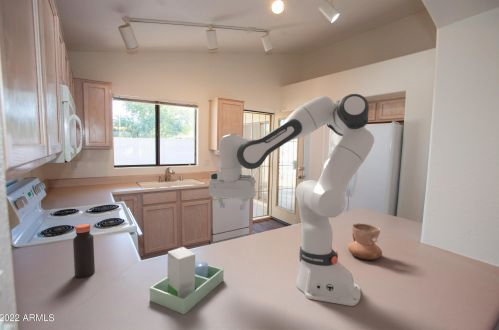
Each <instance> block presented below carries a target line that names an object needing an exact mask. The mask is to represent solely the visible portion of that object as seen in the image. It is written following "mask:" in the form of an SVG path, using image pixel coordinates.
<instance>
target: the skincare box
mask: <svg viewBox="0 0 499 330" xmlns="http://www.w3.org/2000/svg"><path fill="white" fill-rule="evenodd" d="M195 261H196V254H195V253H194V252H192V251H191V250H190V249H187V247H184V246H181V247H178V248H175V249H172V250H169V251H167V277H168V281H167V291H166V292H167V293H169V294H172V295H175V296H177V297H180V298H183V299H184V298H186V297H187V296H188V295H189V294H191V293H192V292H193V291H194V290H196V289H195Z"/></svg>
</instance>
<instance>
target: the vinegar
mask: <svg viewBox="0 0 499 330" xmlns="http://www.w3.org/2000/svg"><path fill="white" fill-rule="evenodd" d="M90 232H91V224H90V223H82V224H81V223H80V224H77V225H75V234H76V236H75V237H74V238H73V239H72V243H73V262H74V263H73V265H74V267H73V268H74V277H75V278H77V279H79V278H80V279H82V278H87V277H89V276H92V275H93V274H94V273H95V271H96V270H95V266H96V265H95V245H94V244H95V243H94V235H93V234H91V233H90Z"/></svg>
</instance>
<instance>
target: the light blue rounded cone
mask: <svg viewBox="0 0 499 330" xmlns="http://www.w3.org/2000/svg"><path fill="white" fill-rule="evenodd" d="M196 262H197V263H195V275H199V276H202V277H205V278H208V265H209V263H208V262H206V261H196Z"/></svg>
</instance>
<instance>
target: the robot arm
mask: <svg viewBox="0 0 499 330" xmlns="http://www.w3.org/2000/svg"><path fill="white" fill-rule="evenodd" d="M369 107H370V106H369V102H368V100H367V98H366V97H365V96H363V95H361V94H358V93H351V94H347V95H345V96H344V97H343V98H342V99H340V101H339V102H338V103H335V102H334V100H333V99H332V98H330V97H329V96H327V95H321V96H318V97H315V98H314V99H311V100H309V101H307V102H305V103H303V104H302V105H300V106H299V107H298V108H296V109H295V110H293V111H292V112H291V113H289V115H288V116H287V117H286V118H285V120H284V121H283V122H282V124H280V125H279V126H278V127H276V129H274V130H272V131H270V132H269V133H268V134H266V135H264V136H262V137H261V138H258V139H254V140H250V139H247V138H245V137H243V136H241V135H239V134H238V133H229V134H226V135H223V136H222V137H221V138H220V139H219V143H218V158H219V161H220V164H219V171H218V170H217V171H216V172H213V173H210V174H209V177H208V178H209V183H208V195H209V196H210V197H211V198H216V200H217V202H218V204H219V208H220V209H224V208H226V203H225V202H223V198H226V199H240V200H241V202H242V204H240V205H239V210H243V211H244V210H245V209H246V204H247V203H248V200H253V199H254V198H256V195H257V192H256V185H255V184H256V182H255V181H256V179H255V178H254V176H252V175H250V174H248V175H246V174H243V170H242V169H243V168H245V169H247V170H255V169H258V168H259V167H260V166H262V165H263V163H264V162H265V161H266V158H268V156H269V155H270V154H271V153H273V152H274V151H276V150H277V149H279V148H280V147H282V146H284V145H285V144H287V143H288V142H290V141H292V140H296V139H301V138H302V137H305V136H308V135H309V134H311V133H314V132H315V131H317V130H318V129H320V128H321V127H323V126H324V125H326V126H327V127H328V128H329V129H330V130H331V131H333V132H334V133H335V134H336V135H338V136H340V137H341V139H340V140H339V142H338V143H337V145H335V147H334V149H332V151H331V153H329V155H328V157H326V159H325V161H324V162H323V165H322V167H323V168H322V172H321V174H320V177H319V178H318V180H314V179H309V180H304V181H301V182H300V183H298V184H297V186H296V188H295V197H296V199H297V205H298V206H297V207H298V211H299V219H300V228H301V233H300V234H301V236H300V237H301V241H300V242H301V245H300V247H299V262H300V263H299V270H298V275H297V278H296V281H295V285H296V287H297V288H298V289H299V290H300V291H301V292H302V293H303V294H304V295H305V297H306V298H307V299H309V300H315V301H320V302H321V301H322V302H326V303H333V304H339V305H344V306H349V307H353V306H356V305H357V304H359V302H360V300H361V296H362V295H361V288H360V286H359V285H358V284H357V282H355V281H354V277H353V275H352V272H351V271H350V270H349V269H348V268H347V267H346V266H344V265H343V264H342V263H341V262H340V261H339V254H338V251H334V249H333V234H334V233H333V227H332V224H331V222H330V218H331V219H332V218H336V217H339V216H340V215H341V214H342V213H343V211H344V210H345V207H346V199H345V198H346V192H347V189H348V186H349V184H350V182H351V181H352V179H353V177H354V176H355V174H356V173H357V171H358V170H359V169H360V167H361V166H362V164H363V163H364V162H365V161H366V159H367V157H368V155H369V154H370V152H371V150H372V148H373V145H374V143H375V136H374V135H373V134H372V132H371V131H370V130H368V129H367V128H366V126H367V125H368V123H369V114H370V113H369V111H370V110H369V109H370V108H369Z"/></svg>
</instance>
